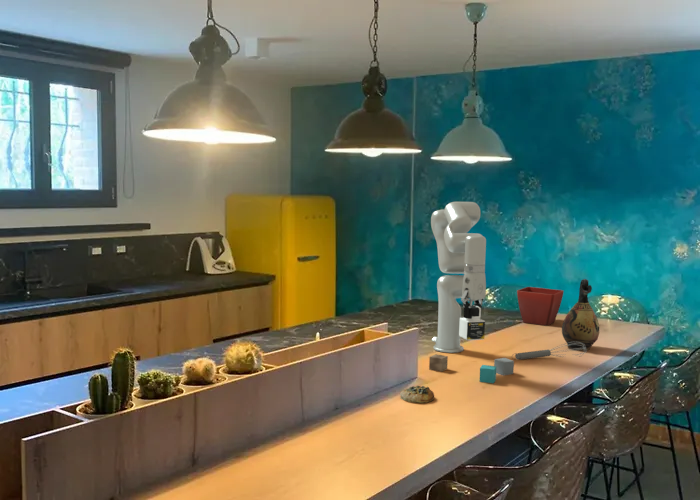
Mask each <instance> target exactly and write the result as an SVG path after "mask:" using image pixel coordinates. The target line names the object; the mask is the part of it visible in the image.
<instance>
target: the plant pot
mask: <svg viewBox="0 0 700 500" xmlns="http://www.w3.org/2000/svg"><path fill="white" fill-rule="evenodd" d="M564 291H565V290H562V289H553V288H552V289H551V288H544V287H532V286H527V287H523V288H521V289H518V290H516V293H517V295H516V296H517V302H518V308H519V313H520V316H521V319H522V322H523V323H525V324H534V325H540V326H549V325H551V324H553V323H555V321H556V319H557V315H558V313H559V310H560V308H561V305H562V304H561V303H562V300H563V296H564Z"/></svg>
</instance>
